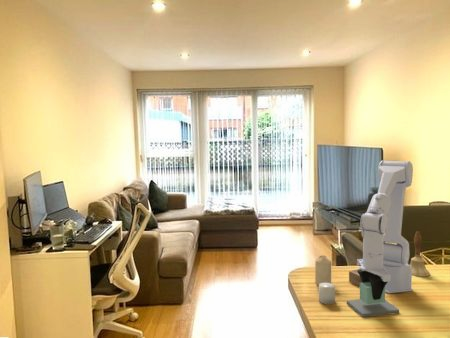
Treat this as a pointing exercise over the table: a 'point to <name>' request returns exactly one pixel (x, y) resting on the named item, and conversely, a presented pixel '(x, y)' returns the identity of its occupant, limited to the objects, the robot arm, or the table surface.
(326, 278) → the candle
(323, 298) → the grey cylinder
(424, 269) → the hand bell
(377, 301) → the teal brick
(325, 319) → the table surface
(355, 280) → the walnut block
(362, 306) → the slate board
